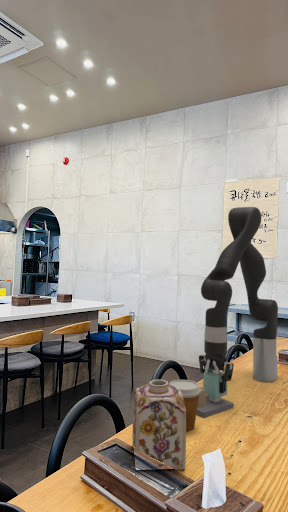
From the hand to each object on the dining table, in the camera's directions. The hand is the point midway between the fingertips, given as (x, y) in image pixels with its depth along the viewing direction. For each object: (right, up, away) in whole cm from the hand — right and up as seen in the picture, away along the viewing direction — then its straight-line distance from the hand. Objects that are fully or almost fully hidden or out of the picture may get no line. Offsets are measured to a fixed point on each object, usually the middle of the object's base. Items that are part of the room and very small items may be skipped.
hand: (215, 389), depth 115 cm
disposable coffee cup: (-13, -4, -16) cm, 21 cm away
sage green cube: (0, -1, 0) cm, 1 cm away
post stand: (-3, -5, -2) cm, 6 cm away
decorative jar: (-21, -4, -33) cm, 39 cm away
